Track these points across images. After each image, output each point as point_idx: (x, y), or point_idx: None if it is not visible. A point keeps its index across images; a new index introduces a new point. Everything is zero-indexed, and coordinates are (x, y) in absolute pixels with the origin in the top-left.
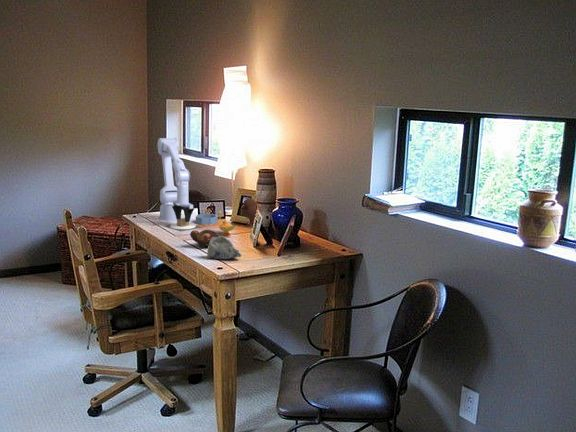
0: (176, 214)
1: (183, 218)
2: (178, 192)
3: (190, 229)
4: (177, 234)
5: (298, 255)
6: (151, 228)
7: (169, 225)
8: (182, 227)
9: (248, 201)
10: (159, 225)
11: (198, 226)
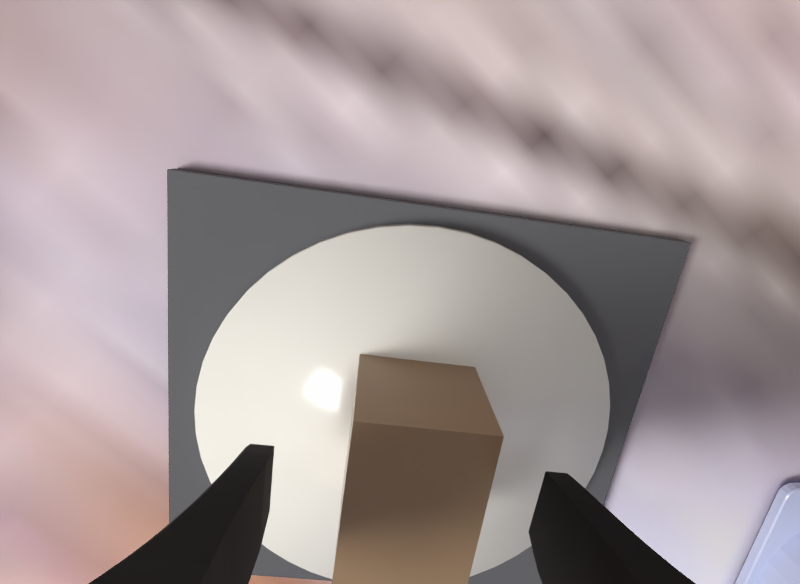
0: (602, 546)
1: (432, 543)
2: None
3: (172, 372)
4: (75, 4)
5: None
6: (792, 18)
7: (626, 339)
8: (306, 338)
9: None
10: (796, 277)
11: None
